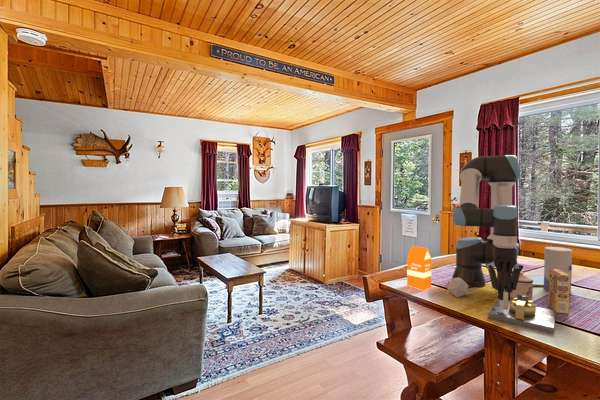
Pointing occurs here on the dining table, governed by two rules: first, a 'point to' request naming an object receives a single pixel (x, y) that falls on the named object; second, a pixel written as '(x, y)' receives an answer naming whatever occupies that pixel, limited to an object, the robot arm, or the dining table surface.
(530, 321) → the flange plate
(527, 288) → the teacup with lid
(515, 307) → the beige lumpy block
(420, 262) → the orange juice
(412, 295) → the dining table surface
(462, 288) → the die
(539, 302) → the dining table surface
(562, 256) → the container
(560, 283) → the candy box
